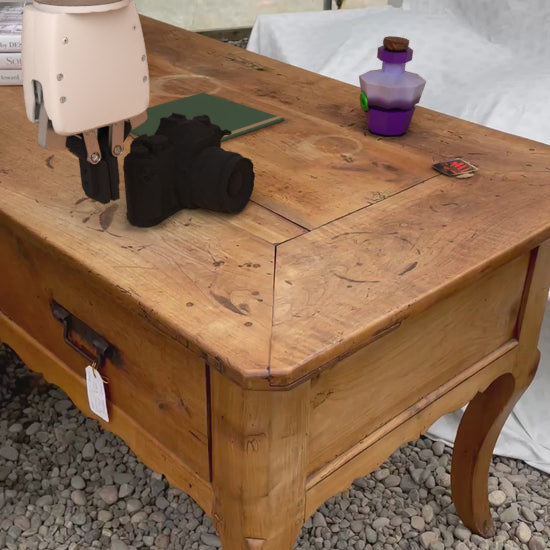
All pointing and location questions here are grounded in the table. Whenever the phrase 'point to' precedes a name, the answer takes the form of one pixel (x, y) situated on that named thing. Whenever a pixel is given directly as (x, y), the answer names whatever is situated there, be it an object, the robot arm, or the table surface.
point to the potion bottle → (391, 90)
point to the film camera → (184, 171)
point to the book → (209, 115)
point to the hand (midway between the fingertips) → (102, 197)
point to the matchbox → (455, 167)
